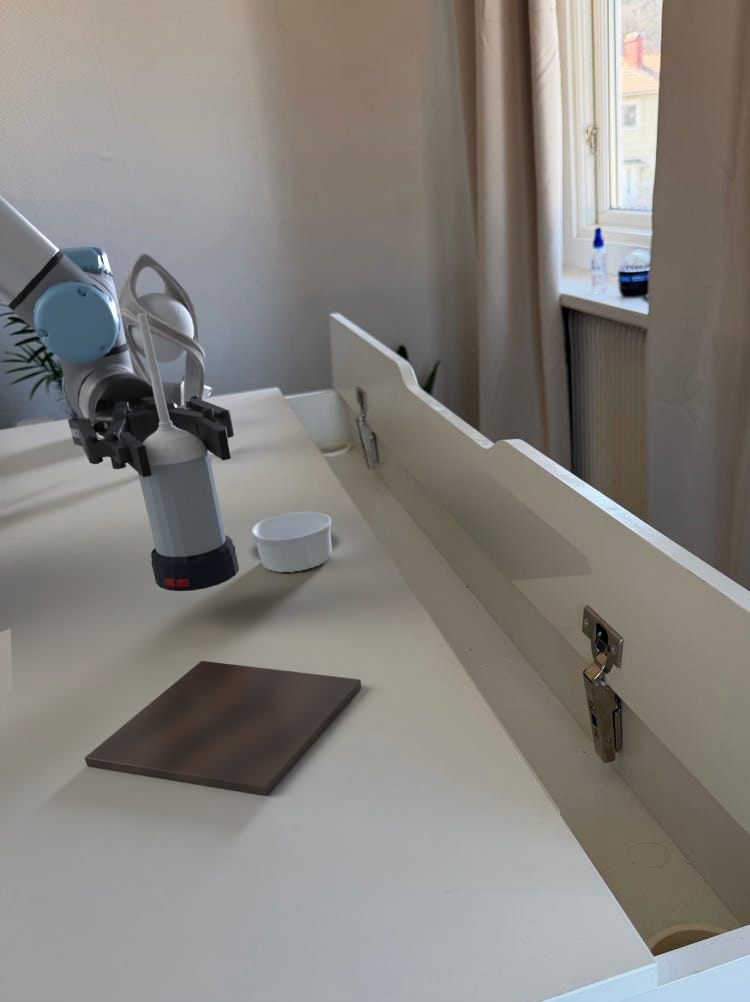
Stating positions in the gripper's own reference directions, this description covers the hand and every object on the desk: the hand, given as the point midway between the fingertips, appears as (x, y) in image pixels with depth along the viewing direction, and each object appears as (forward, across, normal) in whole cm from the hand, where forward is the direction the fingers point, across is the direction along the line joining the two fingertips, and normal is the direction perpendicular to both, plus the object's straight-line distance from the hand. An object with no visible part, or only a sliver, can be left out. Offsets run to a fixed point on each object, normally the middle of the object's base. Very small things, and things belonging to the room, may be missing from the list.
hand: (184, 453), depth 87 cm
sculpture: (-64, -15, -18) cm, 68 cm away
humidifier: (-5, 0, -14) cm, 15 cm away
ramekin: (-13, -13, -18) cm, 26 cm away
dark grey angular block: (-83, -18, -18) cm, 87 cm away
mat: (+18, +5, -18) cm, 26 cm away
